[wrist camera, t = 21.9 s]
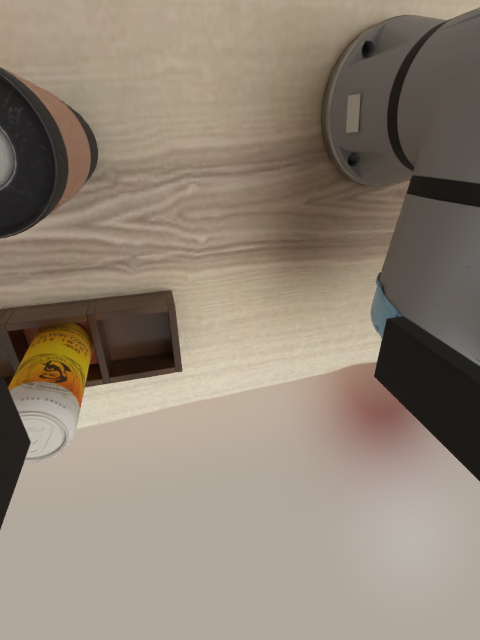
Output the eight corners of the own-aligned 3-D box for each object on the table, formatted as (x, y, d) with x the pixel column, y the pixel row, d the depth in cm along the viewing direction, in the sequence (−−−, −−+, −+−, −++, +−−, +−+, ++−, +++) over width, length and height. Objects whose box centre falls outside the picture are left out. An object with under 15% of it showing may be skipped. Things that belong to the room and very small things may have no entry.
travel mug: (98, 198, 34) (59, 255, 17) (10, 180, 31) (-142, 226, 14) (104, 111, 31) (63, 75, 14) (6, 84, 28) (-192, -3, 11)
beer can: (98, 324, 39) (80, 413, 26) (87, 367, 41) (66, 468, 29) (39, 312, 37) (-12, 404, 24) (31, 358, 39) (-20, 465, 26)
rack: (171, 290, 40) (174, 304, 37) (178, 354, 45) (182, 371, 41) (-82, 318, 35) (-106, 337, 31) (-46, 388, 39) (-64, 412, 36)
